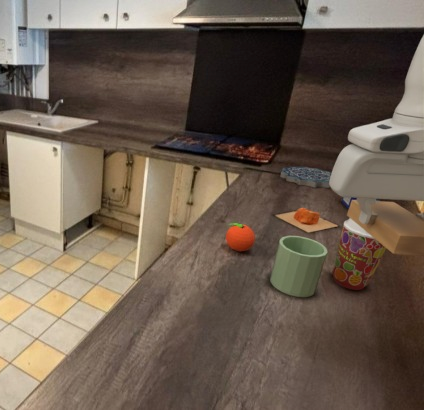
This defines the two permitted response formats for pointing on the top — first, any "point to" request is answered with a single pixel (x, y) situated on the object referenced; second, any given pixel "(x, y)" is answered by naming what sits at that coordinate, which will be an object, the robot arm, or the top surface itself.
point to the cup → (298, 265)
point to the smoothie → (356, 257)
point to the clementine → (240, 237)
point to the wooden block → (393, 227)
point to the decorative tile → (307, 176)
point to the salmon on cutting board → (306, 220)
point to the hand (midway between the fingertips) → (393, 224)
